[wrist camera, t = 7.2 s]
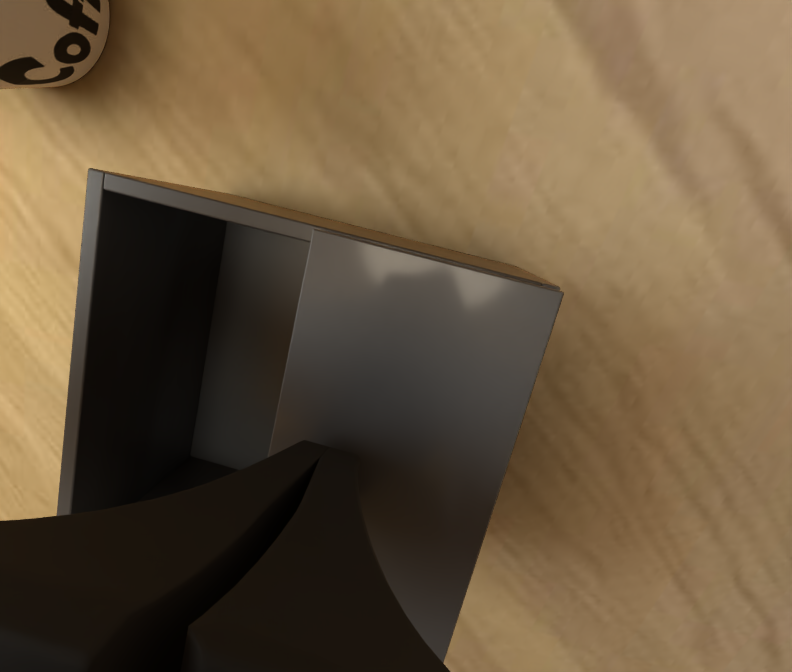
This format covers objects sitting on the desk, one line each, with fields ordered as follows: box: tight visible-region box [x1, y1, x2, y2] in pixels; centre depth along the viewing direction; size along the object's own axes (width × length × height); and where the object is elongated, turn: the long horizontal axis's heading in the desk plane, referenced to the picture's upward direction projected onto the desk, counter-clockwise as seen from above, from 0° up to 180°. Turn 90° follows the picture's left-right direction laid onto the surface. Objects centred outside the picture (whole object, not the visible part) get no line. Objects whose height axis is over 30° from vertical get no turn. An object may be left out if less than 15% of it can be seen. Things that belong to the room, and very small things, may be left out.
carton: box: [57, 168, 560, 516], centre depth 15 cm, size 11×11×7 cm
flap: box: [268, 229, 564, 662], centre depth 11 cm, size 11×5×1 cm, turn 166°
